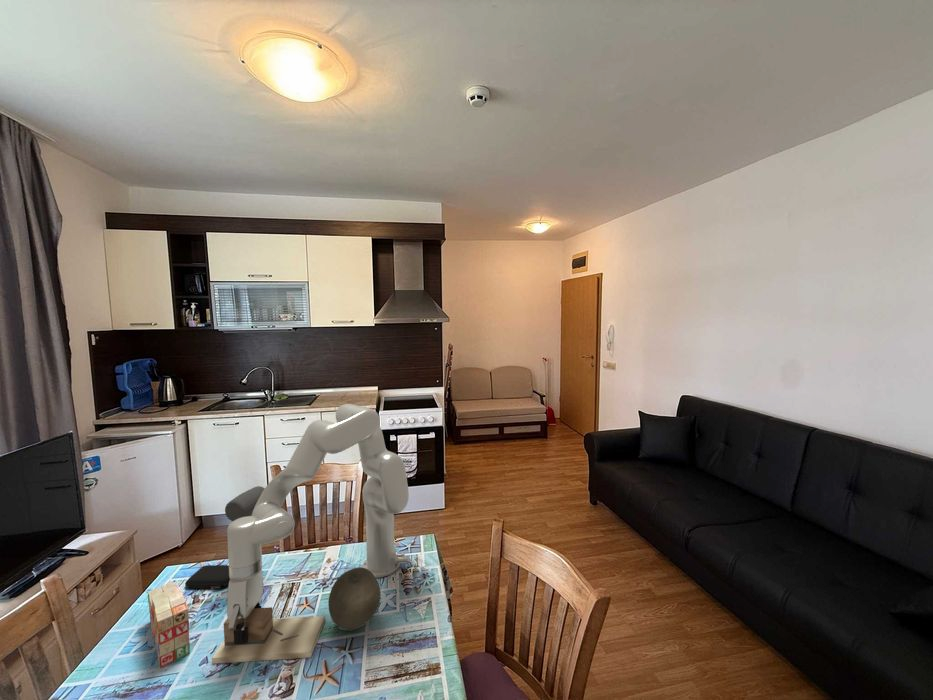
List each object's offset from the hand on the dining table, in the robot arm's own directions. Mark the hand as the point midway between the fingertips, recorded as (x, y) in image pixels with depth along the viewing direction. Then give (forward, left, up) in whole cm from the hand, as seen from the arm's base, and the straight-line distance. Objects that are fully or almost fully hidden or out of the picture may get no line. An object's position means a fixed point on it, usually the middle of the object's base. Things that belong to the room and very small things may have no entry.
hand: (248, 630), depth 101 cm
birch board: (-6, 0, -3) cm, 7 cm away
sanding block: (0, 0, -2) cm, 2 cm away
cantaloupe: (-27, -4, -3) cm, 28 cm away
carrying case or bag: (+24, -27, -4) cm, 36 cm away
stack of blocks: (+23, -4, -4) cm, 23 cm away
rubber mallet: (+12, -26, -3) cm, 29 cm away
